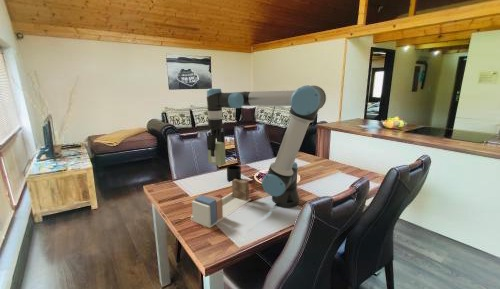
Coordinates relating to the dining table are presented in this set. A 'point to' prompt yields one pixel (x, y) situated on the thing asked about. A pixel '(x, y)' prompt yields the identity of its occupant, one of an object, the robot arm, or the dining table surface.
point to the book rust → (218, 206)
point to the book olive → (218, 154)
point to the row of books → (203, 211)
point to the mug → (233, 172)
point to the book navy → (212, 204)
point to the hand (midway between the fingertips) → (217, 160)
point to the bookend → (240, 189)
